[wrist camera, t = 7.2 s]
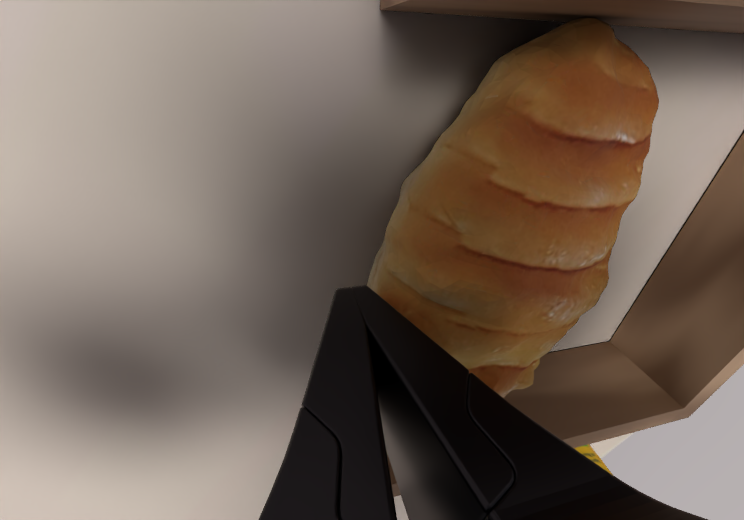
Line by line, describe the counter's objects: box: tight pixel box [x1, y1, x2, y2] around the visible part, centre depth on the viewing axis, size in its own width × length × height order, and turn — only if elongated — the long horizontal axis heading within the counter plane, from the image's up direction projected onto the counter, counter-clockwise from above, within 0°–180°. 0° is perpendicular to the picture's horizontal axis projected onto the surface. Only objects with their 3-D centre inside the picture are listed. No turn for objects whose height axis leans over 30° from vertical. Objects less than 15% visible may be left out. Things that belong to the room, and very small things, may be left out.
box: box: [380, 0, 744, 497], centre depth 9 cm, size 14×13×4 cm
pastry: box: [366, 17, 659, 398], centre depth 8 cm, size 9×7×4 cm
